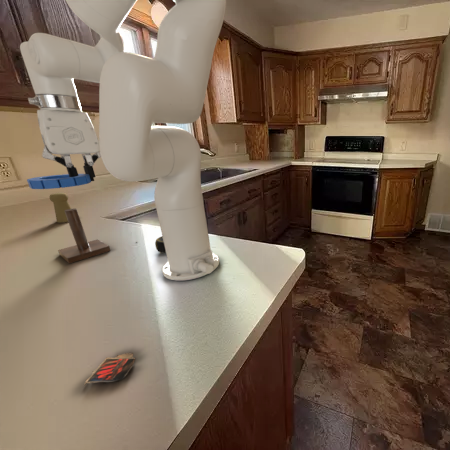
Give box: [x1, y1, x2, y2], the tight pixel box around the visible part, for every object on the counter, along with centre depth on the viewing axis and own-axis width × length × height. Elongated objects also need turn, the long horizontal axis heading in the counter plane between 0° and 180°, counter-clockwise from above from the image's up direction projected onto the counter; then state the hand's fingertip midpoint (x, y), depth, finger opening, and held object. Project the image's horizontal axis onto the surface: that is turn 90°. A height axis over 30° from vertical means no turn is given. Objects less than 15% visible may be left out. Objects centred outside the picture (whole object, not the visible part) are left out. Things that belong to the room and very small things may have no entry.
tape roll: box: [26, 173, 92, 190], centre depth 62 cm, size 11×11×2 cm
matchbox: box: [83, 352, 136, 387], centre depth 33 cm, size 5×5×1 cm
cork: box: [49, 192, 73, 224], centre depth 96 cm, size 6×6×11 cm
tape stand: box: [57, 208, 111, 264], centre depth 66 cm, size 9×9×12 cm
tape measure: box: [154, 235, 166, 254], centre depth 68 cm, size 7×7×4 cm
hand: (84, 180), depth 65 cm, fingers closed on tape roll, 2 cm apart
